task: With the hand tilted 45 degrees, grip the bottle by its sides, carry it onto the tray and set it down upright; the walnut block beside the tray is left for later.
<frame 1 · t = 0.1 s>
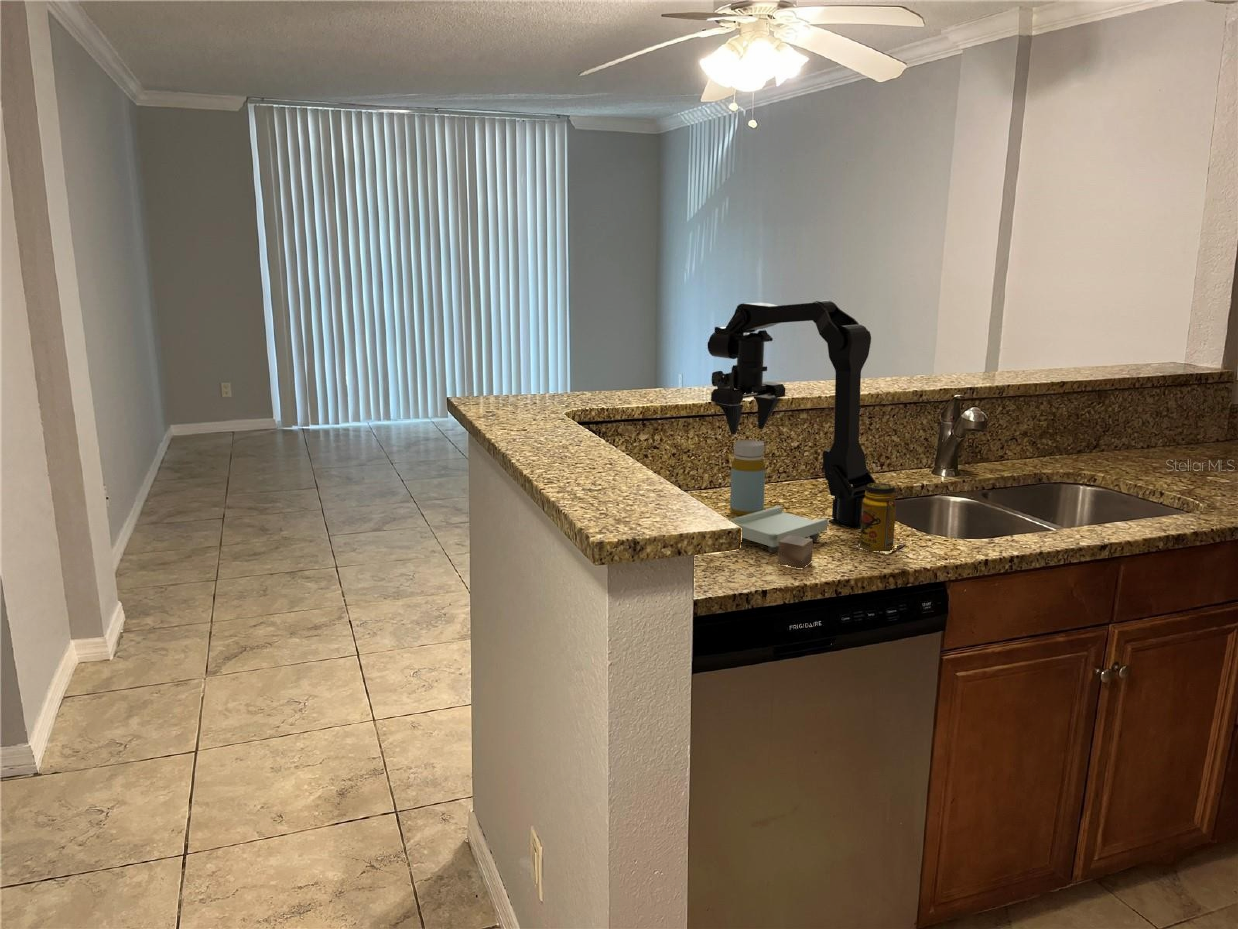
hand: (747, 431, 205), 15 cm above the worktop, tool pointing down, fingers open, 9 cm apart
walnut block: (794, 564, 164), on the worktop
bottle: (746, 513, 195), on the worktop
condiment: (878, 547, 174), on the worktop
tray: (775, 540, 177), on the worktop
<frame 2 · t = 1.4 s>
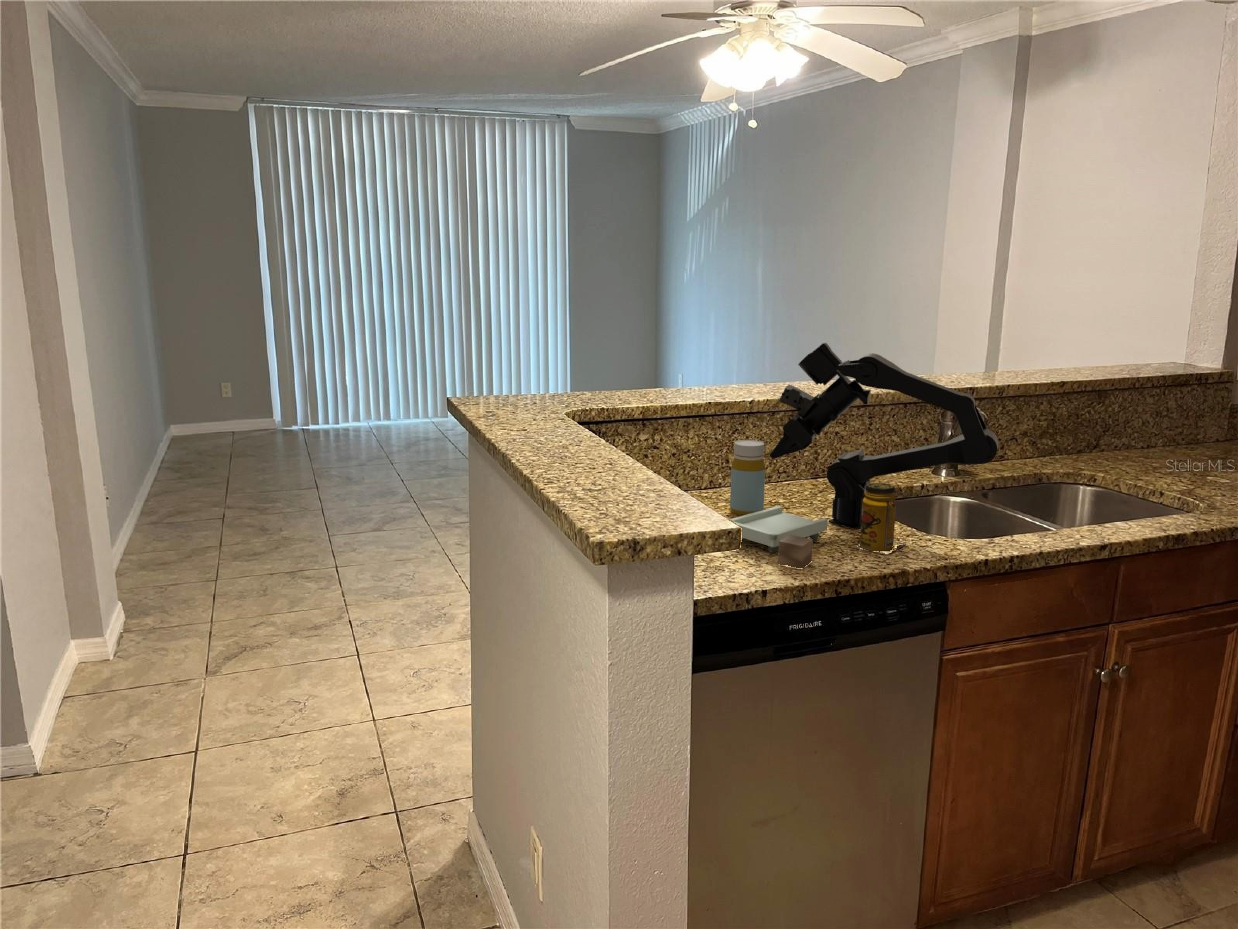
hand: (775, 452, 190), 13 cm above the worktop, tool tilted 45°, fingers open, 9 cm apart
nothing on the worktop moved.
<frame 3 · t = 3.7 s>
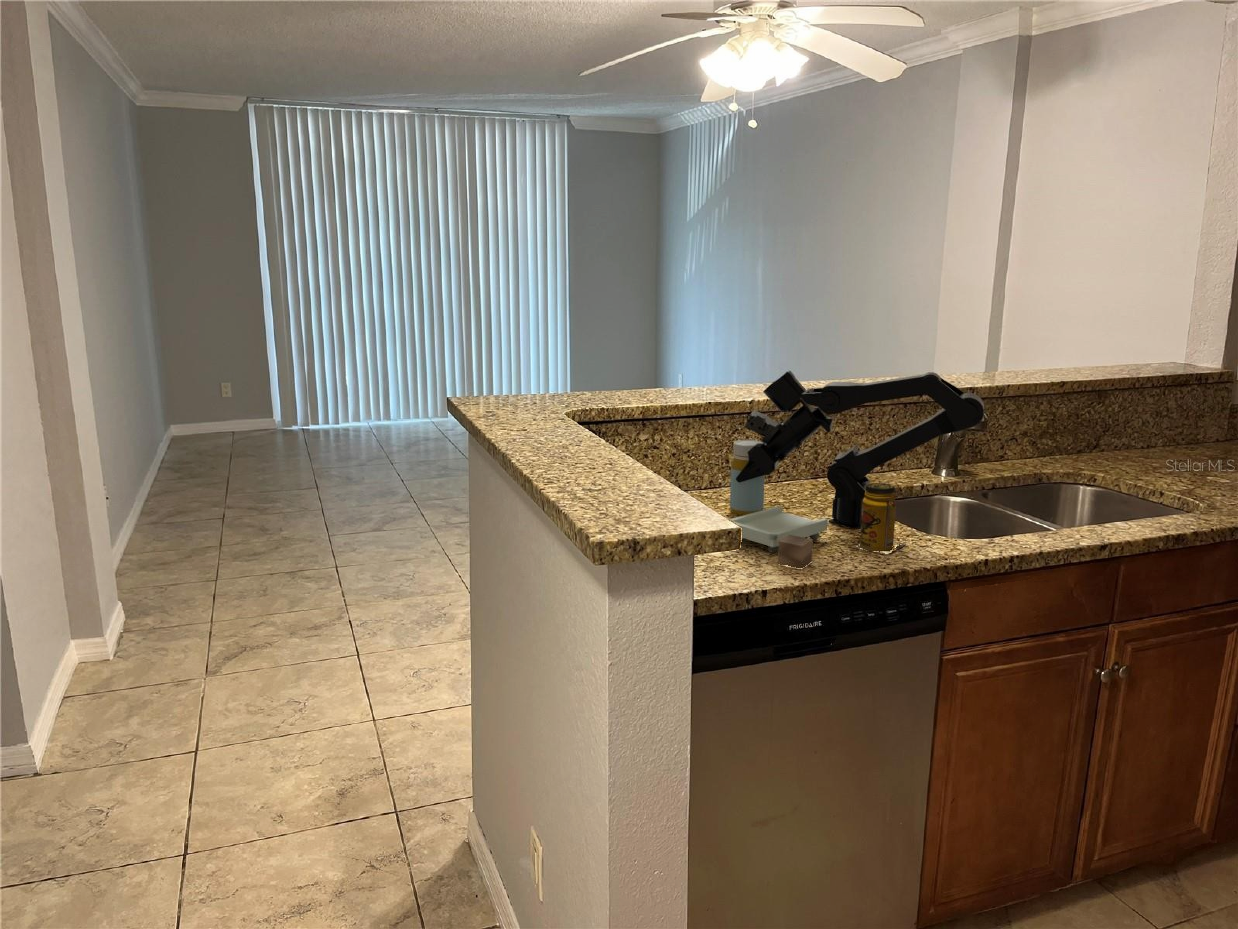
hand: (741, 476, 194), 8 cm above the worktop, tool tilted 45°, fingers closed on bottle, 7 cm apart
bottle: (746, 513, 195), on the worktop, touching gripper
everything else where it was.
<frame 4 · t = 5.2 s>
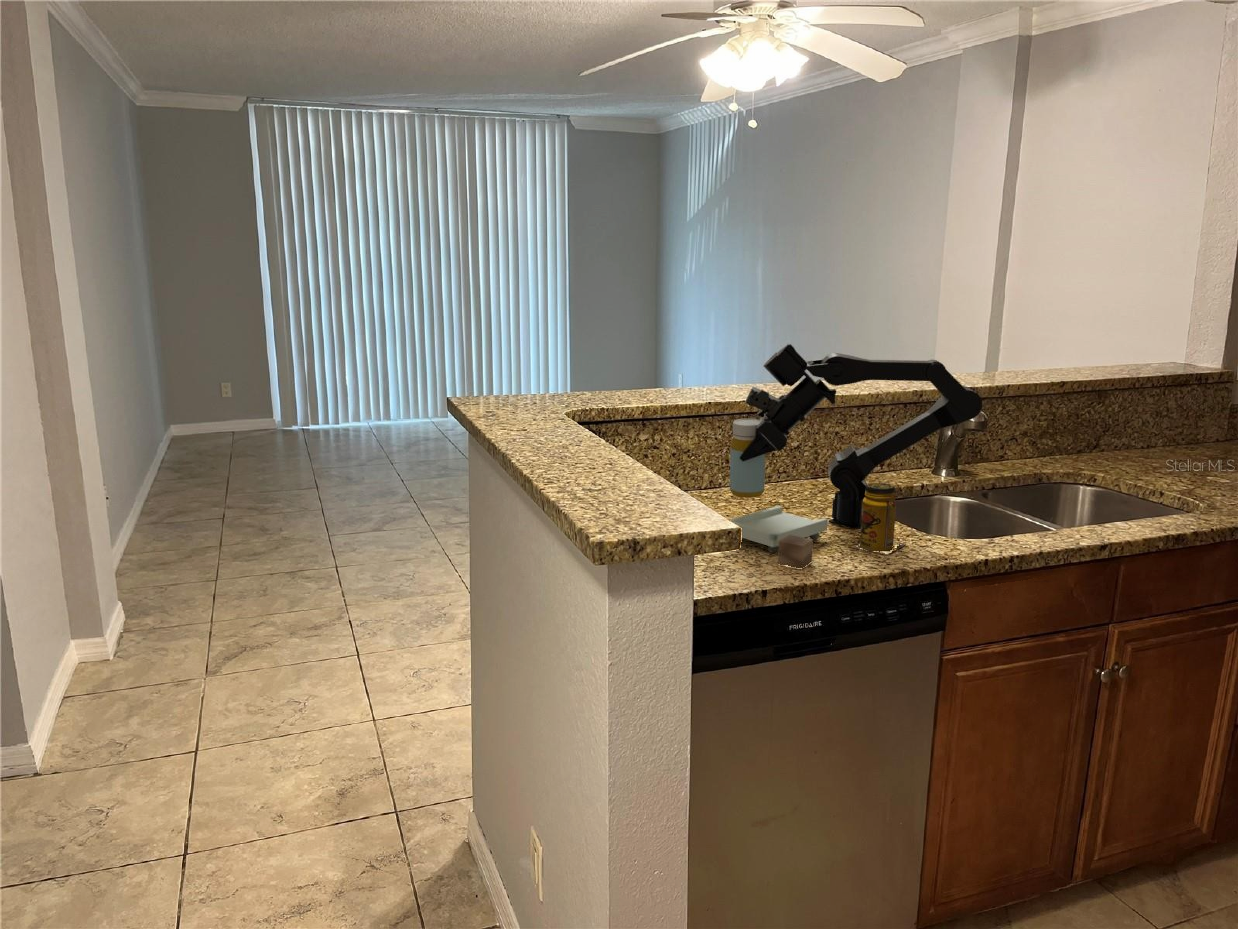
hand: (741, 455, 187), 13 cm above the worktop, tool tilted 45°, fingers closed on bottle, 7 cm apart
bottle: (747, 494, 190), point 5 cm above the worktop, touching gripper
everything else where it was.
when the fingers open (12 cm above the worktop, at t = 6.9 s): bottle stays where it is, resting on tray.
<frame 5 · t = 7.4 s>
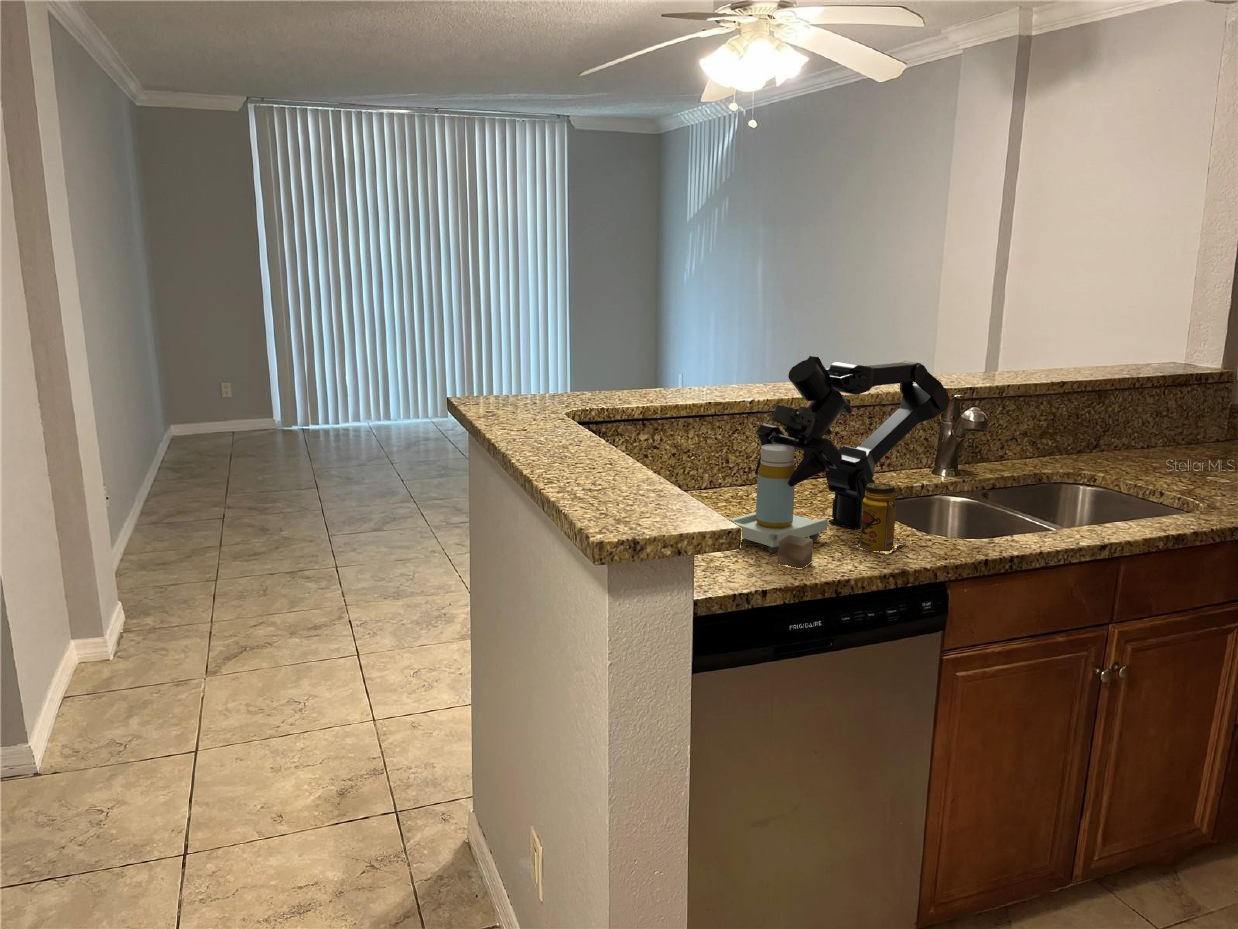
hand: (772, 479, 173), 12 cm above the worktop, tool tilted 45°, fingers open, 9 cm apart
bottle: (774, 525, 177), point 3 cm above the worktop, touching tray
everything else where it was.
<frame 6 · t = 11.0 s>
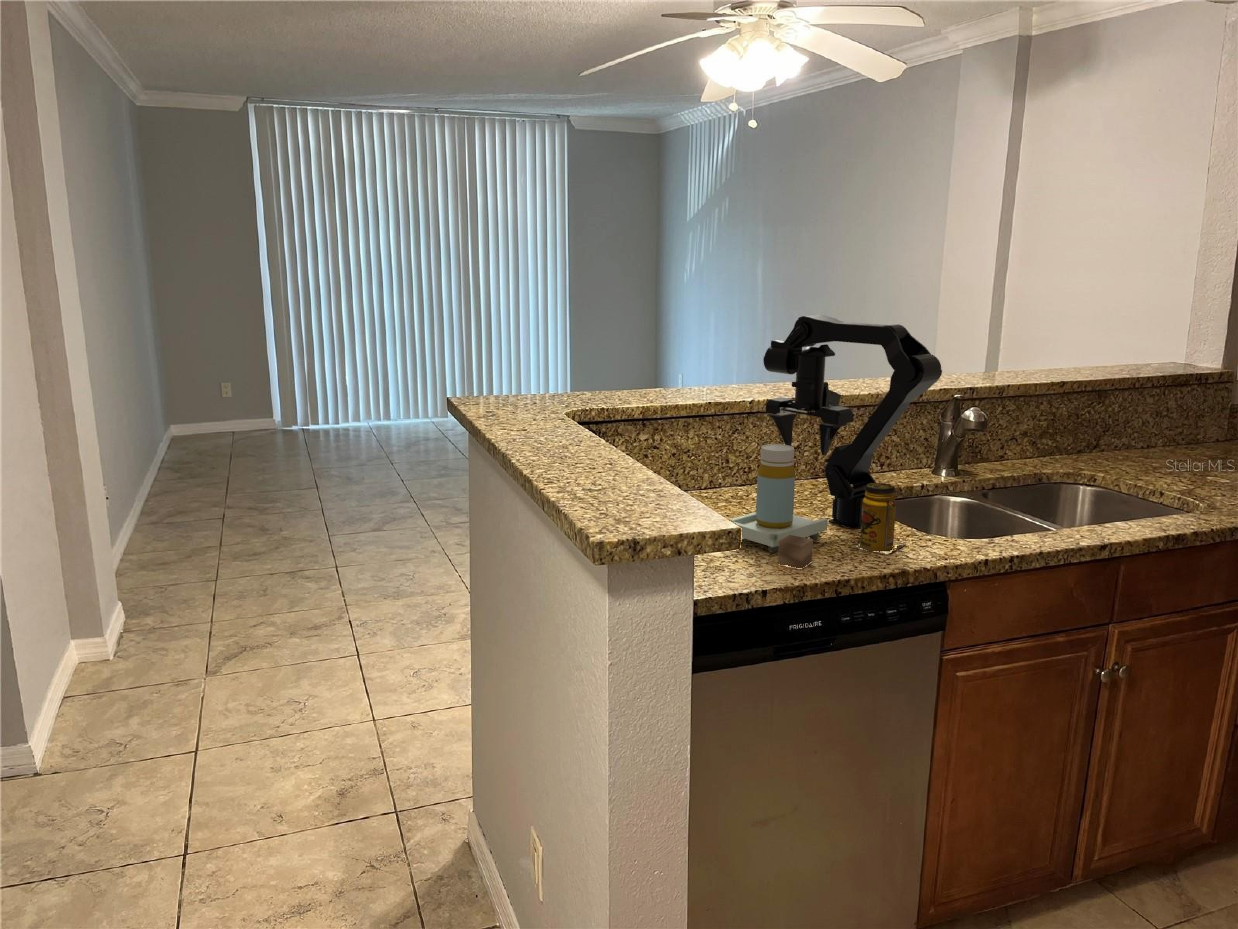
hand: (806, 451, 193), 13 cm above the worktop, tool pointing down, fingers open, 9 cm apart
nothing on the worktop moved.
at the end: bottle inside the target area on the tray (0.7 cm from its centre), point 2.8 cm above the tray's base; bottle tilted 0°; the gripper is holding nothing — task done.
